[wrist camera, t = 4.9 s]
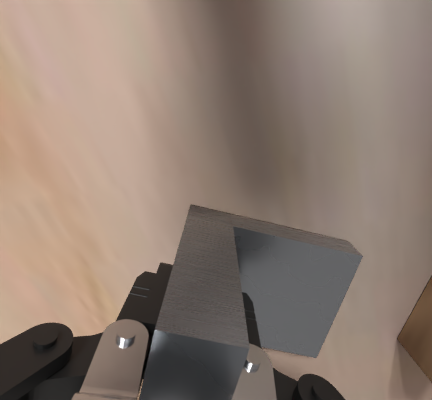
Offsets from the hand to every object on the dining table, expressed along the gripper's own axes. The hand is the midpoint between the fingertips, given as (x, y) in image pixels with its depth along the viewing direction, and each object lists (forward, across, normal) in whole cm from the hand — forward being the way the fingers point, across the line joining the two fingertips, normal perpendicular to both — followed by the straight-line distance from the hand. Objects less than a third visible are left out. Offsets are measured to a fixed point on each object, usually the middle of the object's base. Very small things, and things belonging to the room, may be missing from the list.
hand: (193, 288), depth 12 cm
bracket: (+2, -3, 0) cm, 4 cm away
